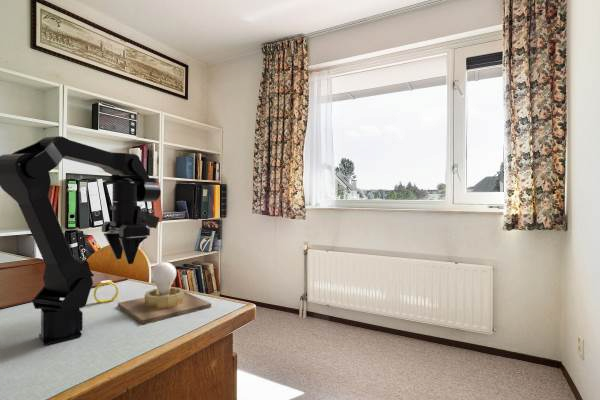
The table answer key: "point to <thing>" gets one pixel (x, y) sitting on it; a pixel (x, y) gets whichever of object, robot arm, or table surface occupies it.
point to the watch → (105, 284)
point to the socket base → (148, 315)
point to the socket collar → (164, 299)
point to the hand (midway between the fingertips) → (124, 261)
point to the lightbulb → (163, 277)
